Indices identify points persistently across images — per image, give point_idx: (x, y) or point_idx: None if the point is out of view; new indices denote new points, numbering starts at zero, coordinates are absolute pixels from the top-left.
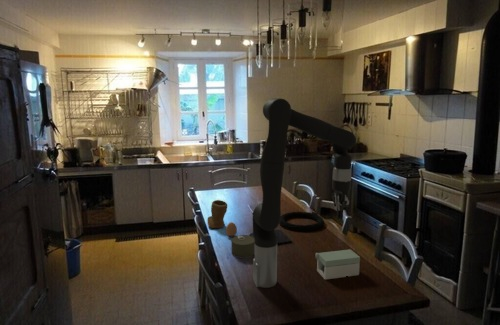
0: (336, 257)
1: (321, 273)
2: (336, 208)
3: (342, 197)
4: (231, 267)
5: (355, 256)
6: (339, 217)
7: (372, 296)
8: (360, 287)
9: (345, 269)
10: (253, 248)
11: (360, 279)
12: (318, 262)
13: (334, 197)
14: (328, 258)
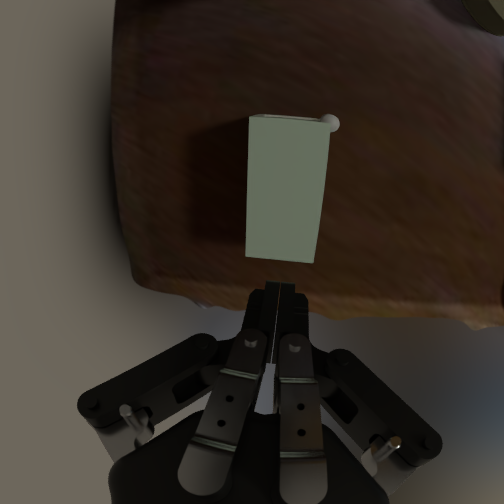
0: (268, 175)
1: (286, 116)
2: (293, 337)
3: (136, 463)
4: None
5: (254, 245)
6: (257, 290)
7: (150, 195)
8: (192, 191)
9: None
10: (480, 9)
11: (231, 215)
12: (317, 120)
13: (386, 435)
14: (269, 139)
